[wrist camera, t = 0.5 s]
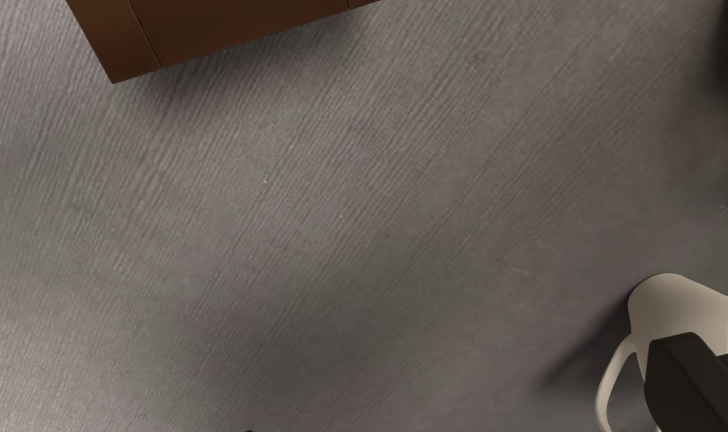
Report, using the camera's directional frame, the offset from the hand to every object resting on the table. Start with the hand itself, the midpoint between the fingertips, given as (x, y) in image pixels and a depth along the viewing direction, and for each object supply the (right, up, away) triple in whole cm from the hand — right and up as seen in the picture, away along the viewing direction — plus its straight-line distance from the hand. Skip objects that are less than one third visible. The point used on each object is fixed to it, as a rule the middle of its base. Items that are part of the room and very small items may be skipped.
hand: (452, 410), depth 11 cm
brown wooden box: (-7, +16, +14) cm, 22 cm away
